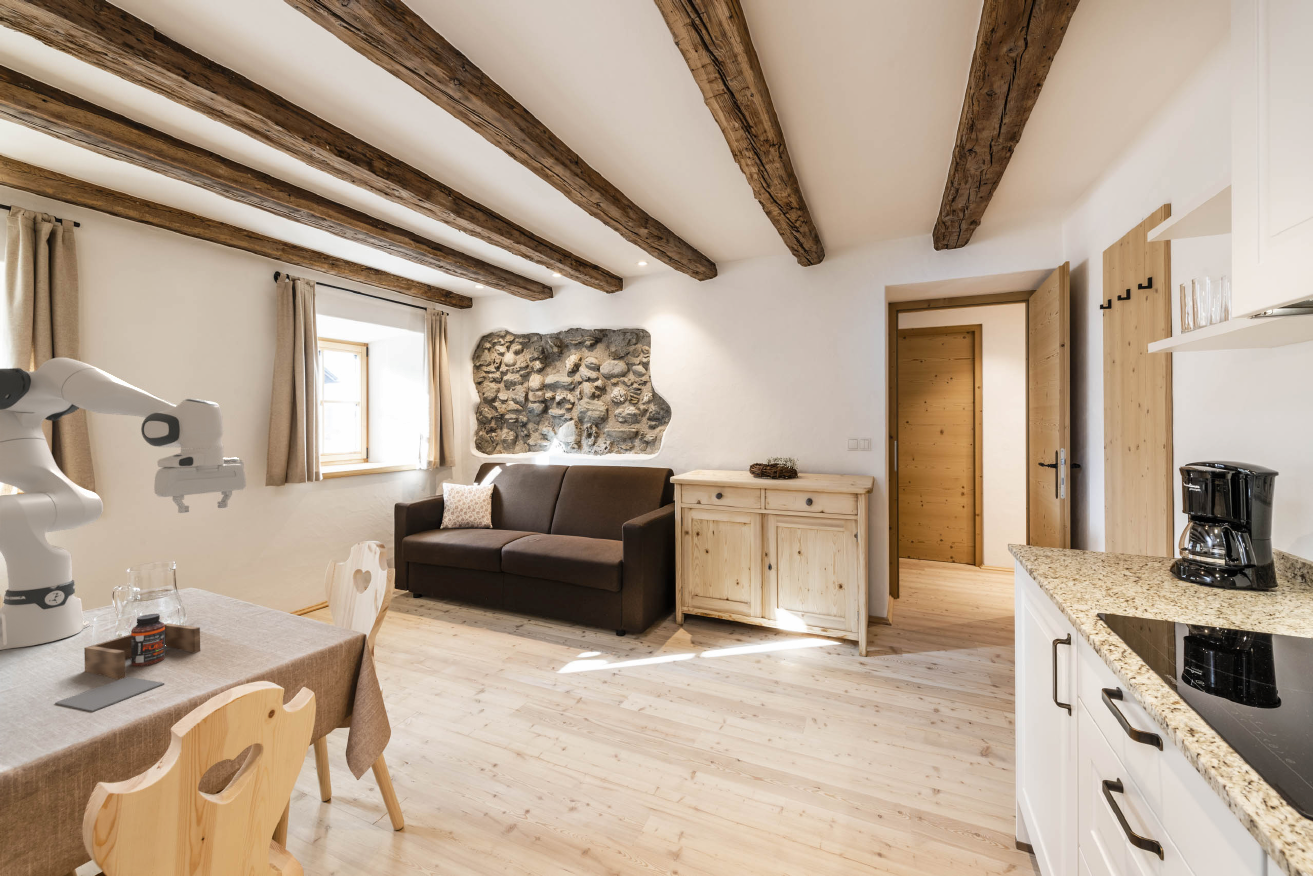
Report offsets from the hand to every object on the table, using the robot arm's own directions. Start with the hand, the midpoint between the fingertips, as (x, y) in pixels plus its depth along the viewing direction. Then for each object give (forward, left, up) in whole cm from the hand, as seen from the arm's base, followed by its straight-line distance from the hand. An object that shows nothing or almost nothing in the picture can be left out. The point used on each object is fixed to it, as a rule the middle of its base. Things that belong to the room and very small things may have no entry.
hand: (203, 510), depth 141 cm
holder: (+2, -14, -35) cm, 38 cm away
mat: (+14, -27, -35) cm, 46 cm away
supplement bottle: (+2, -14, -35) cm, 38 cm away
